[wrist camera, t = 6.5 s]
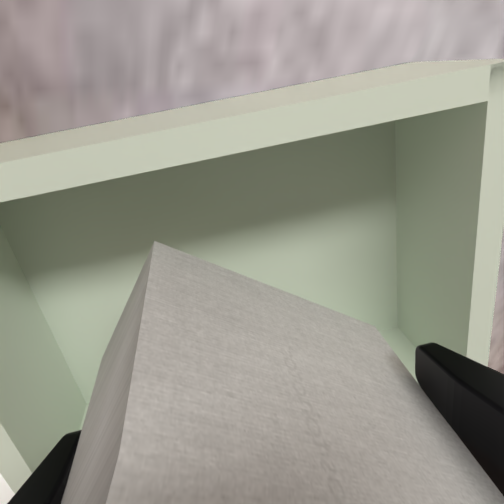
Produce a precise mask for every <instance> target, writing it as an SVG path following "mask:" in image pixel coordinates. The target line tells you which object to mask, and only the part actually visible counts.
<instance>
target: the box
mask: <svg viewBox="0 0 504 504" xmlns="http://www.w3.org/2000/svg"><path fill="white" fill-rule="evenodd" d="M503 228H504V59H483V60H456V61H429V62H409V63H404V64H399V65H394V66H389V67H384V68H379V69H374V70H369V71H364V72H359V73H354V74H348V75H343V76H338V77H333V78H328V79H323V80H318V81H313V82H308V83H303V84H298V85H293V86H288V87H283V88H278V89H272V90H267V91H262V92H257V93H252V94H247V95H242V96H237V97H232V98H227V99H222V100H217V101H212V102H207V103H202V104H196V105H191V106H186V107H181V108H176V109H171V110H166V111H161V112H156V113H151V114H146V115H141V116H136V117H131V118H126V119H120V120H115V121H110V122H105V123H100V124H95V125H90V126H85V127H80V128H75V129H70V130H65V131H60V132H55V133H50V134H44V135H39V136H34V137H29V138H24V139H19V140H14V141H9V142H4V143H0V473H1V475H2V476H3V478H4V479H5V481H6V482H7V484H8V485H9V487H10V488H11V489H12V491H13V492H14V494H16V492H17V491H18V490H19V489H20V488H21V486H22V485H23V484H24V483H25V481H26V480H27V479H28V478H29V477H30V475H31V474H32V473H33V472H34V471H35V469H36V468H37V467H38V466H39V465H40V463H41V462H42V461H43V460H44V459H45V457H46V456H47V455H48V454H49V453H50V451H51V450H52V449H53V448H54V447H55V445H56V444H57V443H58V442H59V440H60V439H61V438H62V437H63V436H64V435H65V434H67V433H70V432H74V431H78V430H82V427H83V424H84V420H85V417H86V413H87V409H88V406H89V402H90V399H91V395H92V392H93V388H94V385H95V381H96V378H97V374H98V370H99V367H100V363H101V360H102V357H103V355H104V352H105V350H106V348H107V346H108V344H109V341H110V339H111V337H112V335H113V332H114V330H115V328H116V326H117V323H118V321H119V319H120V317H121V315H122V312H123V310H124V308H125V306H126V303H127V301H128V299H129V297H130V294H131V292H132V290H133V288H134V286H135V283H136V281H137V279H138V277H139V274H140V272H141V270H142V268H143V265H144V263H145V261H146V259H147V257H148V254H149V252H150V250H151V248H152V245H153V243H154V241H156V242H159V243H161V244H164V245H167V246H169V247H172V248H174V249H177V250H179V251H182V252H185V253H187V254H190V255H192V256H195V257H198V258H200V259H203V260H205V261H208V262H210V263H213V264H216V265H218V266H221V267H223V268H226V269H228V270H231V271H234V272H236V273H239V274H241V275H244V276H247V277H249V278H252V279H254V280H257V281H259V282H262V283H265V284H267V285H270V286H272V287H275V288H277V289H280V290H283V291H285V292H288V293H290V294H293V295H296V296H298V297H301V298H303V299H306V300H308V301H311V302H314V303H316V304H319V305H321V306H324V307H326V308H329V309H332V310H334V311H337V312H339V313H342V314H345V315H347V316H350V317H352V318H355V319H357V320H360V321H363V322H365V323H368V324H370V325H373V326H375V327H376V329H377V330H378V331H379V332H380V334H381V335H382V336H383V338H384V339H385V340H386V342H387V343H388V344H389V346H390V347H391V348H392V350H393V351H394V352H395V354H396V355H397V356H398V358H399V359H400V360H401V362H402V363H403V364H404V365H405V367H406V368H407V369H408V371H409V372H410V373H411V375H412V376H413V377H414V379H415V380H416V381H417V379H416V375H415V349H416V347H417V346H419V345H422V344H426V343H430V342H434V343H437V344H439V345H441V346H444V347H446V348H448V349H450V350H452V351H454V352H457V353H459V354H461V355H463V356H465V357H467V358H470V359H472V360H474V361H476V362H478V363H480V364H483V365H485V366H487V367H488V358H489V349H490V341H491V332H492V323H493V315H494V306H495V297H496V289H497V280H498V271H499V263H500V254H501V245H502V237H503ZM417 383H418V381H417ZM418 384H419V383H418Z"/></svg>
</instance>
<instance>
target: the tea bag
mask: <svg viewBox="0 0 504 504" xmlns="http://www.w3.org/2000/svg"><path fill="white" fill-rule="evenodd" d="M61 504H504V496H503V495H502V493H501V492H500V491H499V490H498V488H497V487H496V486H495V484H494V483H493V482H492V480H491V479H490V478H489V476H488V475H487V474H486V472H485V471H484V470H483V468H482V467H481V466H480V464H479V463H478V462H477V460H476V459H475V458H474V457H473V455H472V454H471V453H470V451H469V450H468V449H467V447H466V446H465V445H464V443H463V442H462V441H461V439H460V438H459V437H458V435H457V434H456V433H455V431H454V430H453V429H452V428H451V426H450V425H449V424H448V423H447V421H446V420H445V419H444V417H443V416H442V415H441V413H440V412H439V411H438V409H437V408H436V407H435V406H434V404H433V403H432V402H431V400H430V399H429V398H428V396H427V395H426V394H425V392H424V391H423V390H422V388H421V387H420V385H419V384H418V383H417V381H416V380H415V379H414V377H413V376H412V375H411V373H410V372H409V371H408V369H407V368H406V367H405V365H404V364H403V363H402V362H401V360H400V359H399V358H398V356H397V355H396V354H395V352H394V351H393V350H392V348H391V347H390V346H389V344H388V343H387V342H386V340H385V339H384V338H383V336H382V335H381V334H380V332H379V331H378V330H377V329H376V327H375V326H373V325H370V324H368V323H365V322H363V321H360V320H357V319H355V318H352V317H350V316H347V315H345V314H342V313H339V312H337V311H334V310H332V309H329V308H326V307H324V306H321V305H319V304H316V303H314V302H311V301H308V300H306V299H303V298H301V297H298V296H296V295H293V294H290V293H288V292H285V291H283V290H280V289H277V288H275V287H272V286H270V285H267V284H265V283H262V282H259V281H257V280H254V279H252V278H249V277H247V276H244V275H241V274H239V273H236V272H234V271H231V270H228V269H226V268H223V267H221V266H218V265H216V264H213V263H210V262H208V261H205V260H203V259H200V258H198V257H195V256H192V255H190V254H187V253H185V252H182V251H179V250H177V249H174V248H172V247H169V246H167V245H164V244H161V243H159V242H156V241H154V243H153V245H152V248H151V250H150V252H149V254H148V257H147V259H146V261H145V263H144V265H143V268H142V270H141V272H140V274H139V277H138V279H137V281H136V283H135V286H134V288H133V290H132V292H131V294H130V297H129V299H128V301H127V303H126V306H125V308H124V310H123V312H122V315H121V317H120V319H119V321H118V323H117V326H116V328H115V330H114V332H113V335H112V337H111V339H110V341H109V344H108V346H107V348H106V350H105V352H104V355H103V357H102V360H101V363H100V367H99V370H98V374H97V378H96V381H95V385H94V388H93V392H92V395H91V399H90V402H89V406H88V409H87V413H86V417H85V420H84V424H83V427H82V431H81V434H80V438H79V442H78V445H77V449H76V453H75V456H74V460H73V463H72V467H71V470H70V474H69V477H68V481H67V484H66V488H65V491H64V494H63V498H62V501H61Z"/></svg>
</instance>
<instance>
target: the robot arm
mask: <svg viewBox="0 0 504 504" xmlns="http://www.w3.org/2000/svg"><path fill="white" fill-rule="evenodd" d="M415 375H416V379H417V381H418V383H419V385H420V387H421V388H422V390H423V391H424V392H425V394H426V395H427V396H428V398H429V399H430V400H431V402H432V403H433V404H434V406H435V407H436V408H437V409H438V411H439V412H440V413H441V415H442V416H443V417H444V419H445V420H446V421H447V423H448V424H449V425H450V426H451V428H452V429H453V430H454V431H455V433H456V434H457V435H458V437H459V438H460V439H461V441H462V442H463V443H464V445H465V446H466V447H467V449H468V450H469V451H470V453H471V454H472V455H473V457H474V458H475V459H476V460H477V462H478V463H479V464H480V466H481V467H482V468H483V470H484V471H485V472H486V474H487V475H488V476H489V478H490V479H491V480H492V482H493V483H494V484H495V486H496V487H497V488H498V490H499V491H500V492H501V493H502V495H503V496H504V374H502V373H500V372H498V371H496V370H493V369H491V368H489V367H487V366H485V365H483V364H480V363H478V362H476V361H474V360H472V359H470V358H467V357H465V356H463V355H461V354H459V353H457V352H454V351H452V350H450V349H448V348H446V347H444V346H441V345H439V344H437V343H434V342H430V343H426V344H422V345H419V346H417V347H416V349H415ZM81 431H82V430H78V431H74V432H70V433H67V434H65V435H64V436H63V437H62V438H61V439H60V440H59V442H58V443H57V444H56V445H55V447H54V448H53V449H52V450H51V451H50V453H49V454H48V455H47V456H46V457H45V459H44V460H43V461H42V462H41V463H40V465H39V466H38V467H37V468H36V469H35V471H34V472H33V473H32V474H31V475H30V477H29V478H28V479H27V480H26V481H25V483H24V484H23V485H22V486H21V488H20V489H19V490H18V491H17V492H16V494H15V495H14V496H13V497H12V498H11V500H10V501H9V502H8V503H7V504H61V501H62V498H63V494H64V491H65V488H66V484H67V481H68V477H69V474H70V470H71V467H72V463H73V460H74V456H75V453H76V449H77V445H78V442H79V438H80V434H81Z"/></svg>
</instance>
